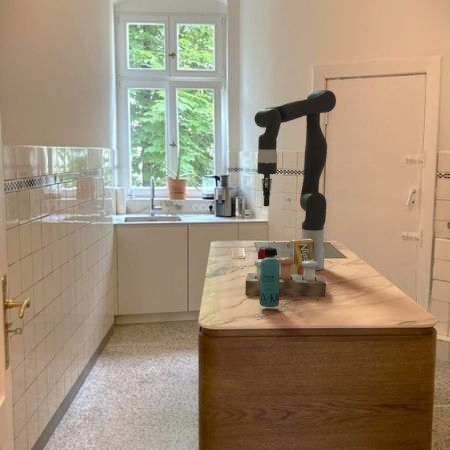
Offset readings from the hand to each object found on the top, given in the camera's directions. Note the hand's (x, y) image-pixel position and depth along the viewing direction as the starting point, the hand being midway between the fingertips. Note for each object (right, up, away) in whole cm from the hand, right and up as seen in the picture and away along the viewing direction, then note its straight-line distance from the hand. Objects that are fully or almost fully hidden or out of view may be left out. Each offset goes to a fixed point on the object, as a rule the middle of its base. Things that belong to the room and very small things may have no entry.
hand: (266, 206), depth 209 cm
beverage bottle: (-2, -35, -37) cm, 50 cm away
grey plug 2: (+14, -31, -16) cm, 38 cm away
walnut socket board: (+6, -31, -15) cm, 35 cm away
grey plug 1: (-3, -31, -14) cm, 34 cm away
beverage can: (0, -29, +7) cm, 29 cm away
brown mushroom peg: (+6, -30, -15) cm, 34 cm away
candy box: (+15, -29, +6) cm, 33 cm away
